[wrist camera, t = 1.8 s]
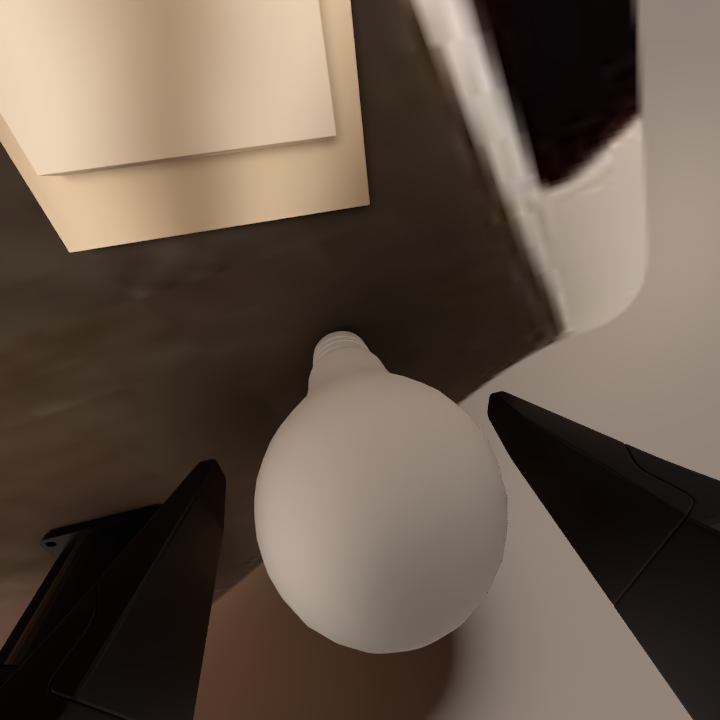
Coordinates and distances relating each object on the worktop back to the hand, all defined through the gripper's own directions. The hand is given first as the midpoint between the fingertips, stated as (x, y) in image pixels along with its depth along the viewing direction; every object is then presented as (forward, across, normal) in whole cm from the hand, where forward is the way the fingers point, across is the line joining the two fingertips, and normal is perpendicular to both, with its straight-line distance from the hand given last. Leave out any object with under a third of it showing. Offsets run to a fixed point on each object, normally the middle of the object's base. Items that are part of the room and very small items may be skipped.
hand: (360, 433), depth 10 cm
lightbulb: (+6, 0, 0) cm, 6 cm away
